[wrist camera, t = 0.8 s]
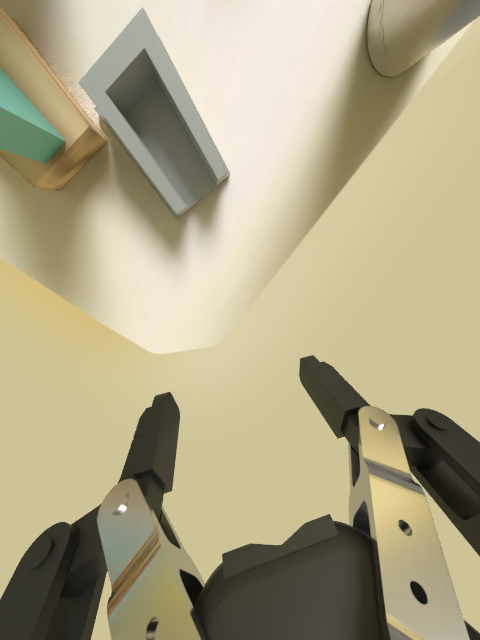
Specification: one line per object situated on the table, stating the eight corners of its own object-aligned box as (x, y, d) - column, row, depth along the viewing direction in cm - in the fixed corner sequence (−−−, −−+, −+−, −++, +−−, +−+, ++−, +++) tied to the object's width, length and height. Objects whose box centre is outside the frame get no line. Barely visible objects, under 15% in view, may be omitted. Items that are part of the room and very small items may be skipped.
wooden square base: (11, 17, 17) (-39, -34, 13) (107, 140, 22) (88, 126, 18) (-42, 92, 18) (-99, 64, 15) (59, 190, 23) (33, 186, 20)
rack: (161, 45, 19) (145, -12, 14) (229, 175, 25) (234, 165, 21) (99, 113, 20) (66, 82, 16) (177, 218, 27) (171, 218, 22)
